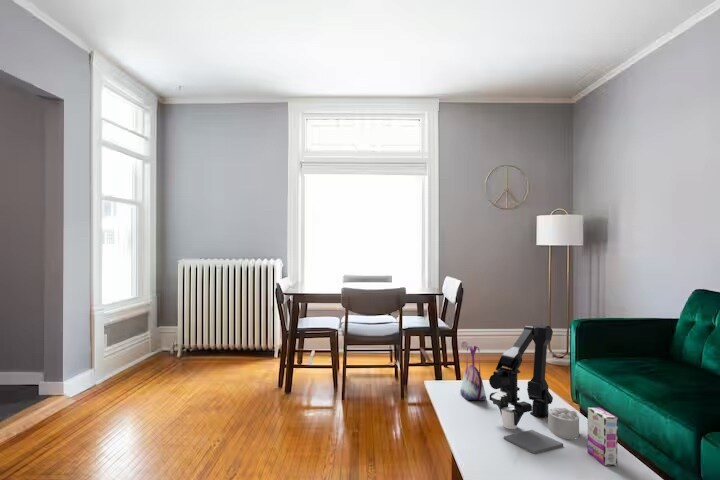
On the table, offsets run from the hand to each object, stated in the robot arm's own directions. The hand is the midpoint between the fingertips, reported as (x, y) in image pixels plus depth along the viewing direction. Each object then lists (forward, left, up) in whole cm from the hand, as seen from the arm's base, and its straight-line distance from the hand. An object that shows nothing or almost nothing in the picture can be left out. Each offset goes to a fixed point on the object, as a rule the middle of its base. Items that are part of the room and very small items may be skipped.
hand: (509, 422), depth 200 cm
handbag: (-12, -37, -2) cm, 39 cm away
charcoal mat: (+4, +16, -2) cm, 17 cm away
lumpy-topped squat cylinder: (-15, +15, -2) cm, 21 cm away
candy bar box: (-7, +37, -2) cm, 38 cm away
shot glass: (0, 0, -2) cm, 2 cm away
